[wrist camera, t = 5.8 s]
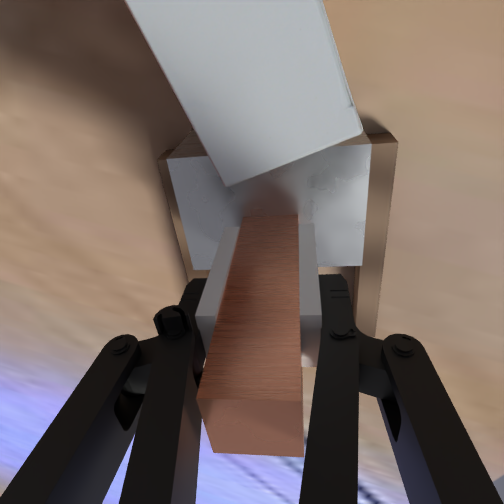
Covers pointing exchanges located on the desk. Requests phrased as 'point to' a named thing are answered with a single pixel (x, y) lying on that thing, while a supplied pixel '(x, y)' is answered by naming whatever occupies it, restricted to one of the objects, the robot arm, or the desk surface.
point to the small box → (252, 78)
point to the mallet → (266, 281)
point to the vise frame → (374, 238)
